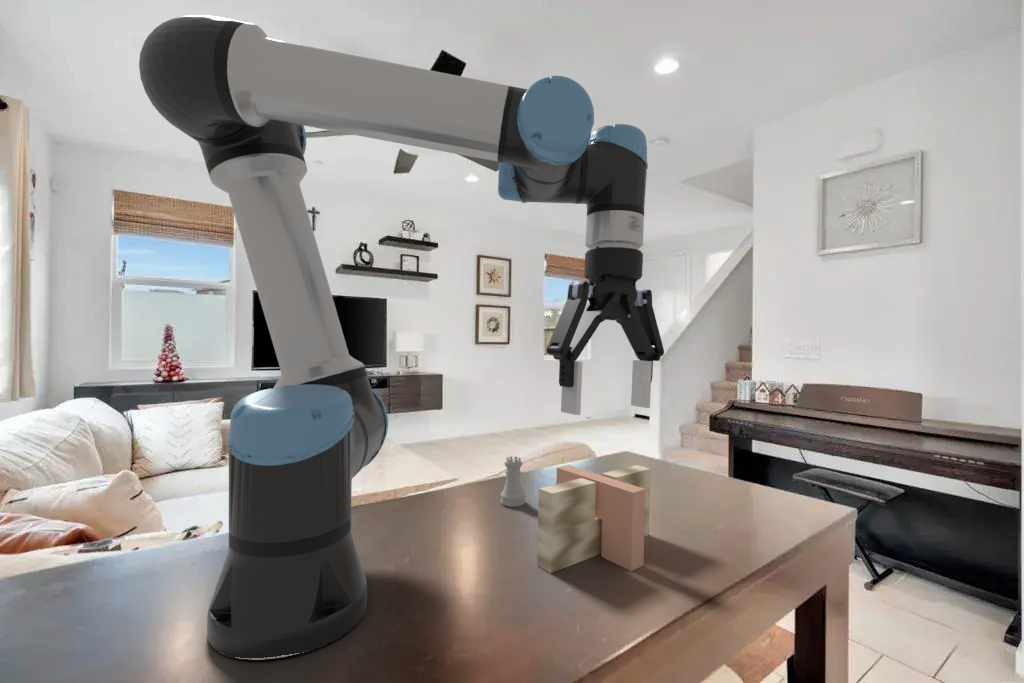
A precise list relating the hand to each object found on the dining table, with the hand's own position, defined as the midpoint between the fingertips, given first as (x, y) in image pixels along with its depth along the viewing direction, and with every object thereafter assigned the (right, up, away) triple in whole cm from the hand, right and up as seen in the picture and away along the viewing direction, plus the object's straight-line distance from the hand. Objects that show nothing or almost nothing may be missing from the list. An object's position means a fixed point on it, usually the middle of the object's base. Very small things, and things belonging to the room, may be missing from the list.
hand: (607, 410), depth 66 cm
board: (-1, -20, +3) cm, 20 cm away
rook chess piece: (-13, -20, +21) cm, 31 cm away
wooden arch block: (-1, -20, +3) cm, 20 cm away
